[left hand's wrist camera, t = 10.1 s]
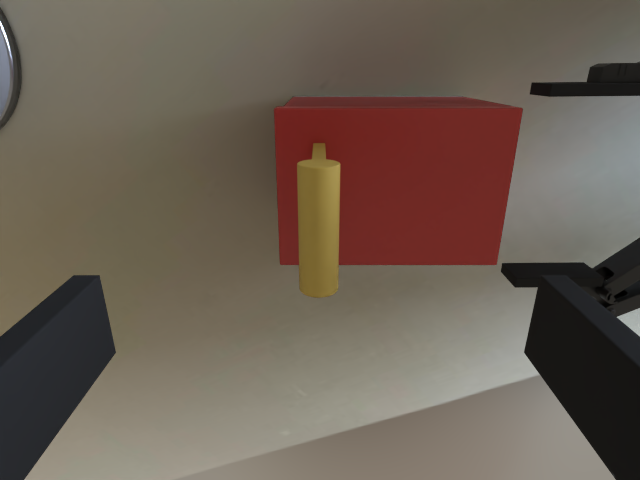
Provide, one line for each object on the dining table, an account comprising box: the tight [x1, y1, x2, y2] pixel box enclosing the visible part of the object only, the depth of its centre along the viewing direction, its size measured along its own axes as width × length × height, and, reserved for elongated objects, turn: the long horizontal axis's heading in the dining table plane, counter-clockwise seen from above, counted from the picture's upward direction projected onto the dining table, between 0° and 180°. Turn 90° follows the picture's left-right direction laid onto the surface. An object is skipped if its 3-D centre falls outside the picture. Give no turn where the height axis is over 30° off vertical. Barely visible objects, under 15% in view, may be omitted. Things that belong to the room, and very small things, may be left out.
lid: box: [274, 106, 523, 298], centre depth 23 cm, size 14×10×9 cm
